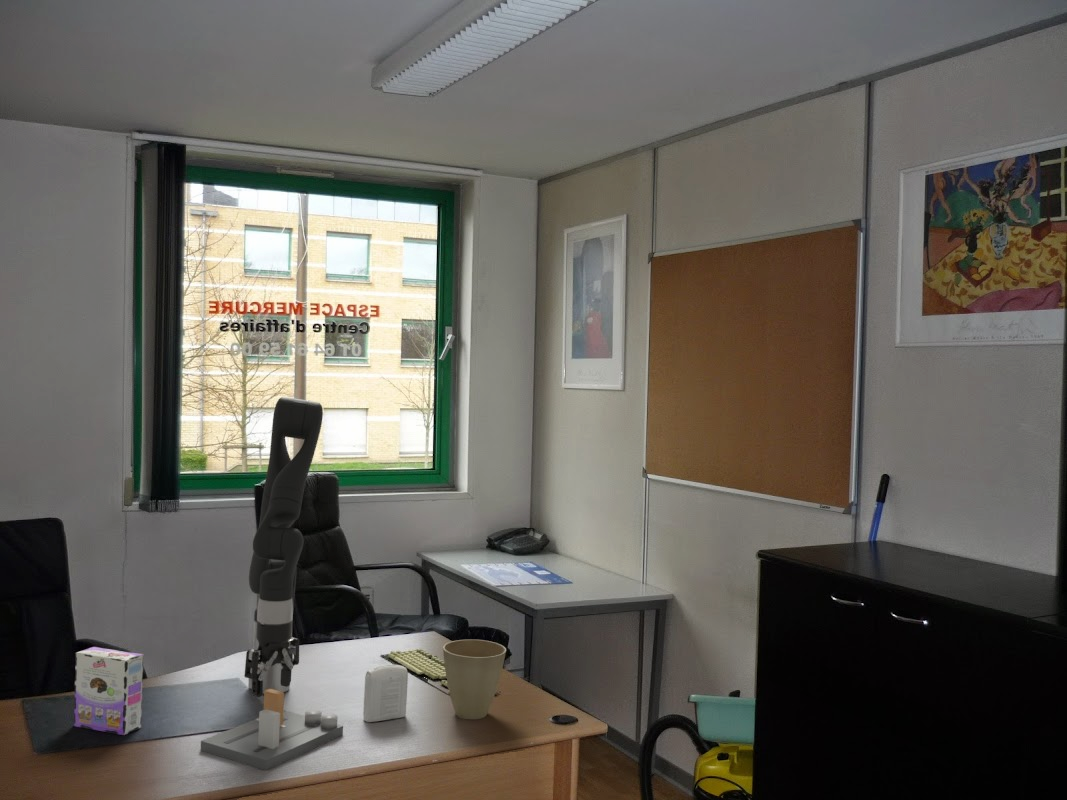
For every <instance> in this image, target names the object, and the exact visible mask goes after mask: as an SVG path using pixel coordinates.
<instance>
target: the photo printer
mask: <svg viewBox="0 0 1067 800" xmlns="http://www.w3.org/2000/svg"><path fill="white" fill-rule="evenodd" d="M408 680H409V672H407V669H406V668H405V667H404V666H401V665H395V664H384V665H378V666H376V667H373V668H370V669H369V670H367V671H366V673H365V676H364V695H363V696H364V697H363V712H362V713H363V714H362V715H363V721H365V722H367V723H372V722H373V723H374V722H380V721H388V720H392V719H393V720H394V719H400V718H405V717H406V716H407V701H408V699H407V698H408Z"/></svg>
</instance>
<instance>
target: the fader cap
mask: <svg viewBox="0 0 1067 800" xmlns="http://www.w3.org/2000/svg"><path fill="white" fill-rule="evenodd" d="M263 695H264V696H263V710H265V709H267V710H271V711H274V712H278V713H280V725H281V724H283V710H284V704H285V703H284V701H285V692H281V691H277V690H273V689H268V690H265V691H264V694H263Z"/></svg>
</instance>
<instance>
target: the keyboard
mask: <svg viewBox="0 0 1067 800" xmlns="http://www.w3.org/2000/svg"><path fill="white" fill-rule="evenodd" d="M380 656H381V657H382V658H383V659H384V660H387V661H388V662H390V663H392V665H401V666H404V667H405V668H406V669H407V672H408V674H410V675H412V676H414V677H417V678H418V679H420V680H421V681H422V682H425V683H426V684H428V685H430V686H431V687H433V688H435V689H437V690H438V691H441V692H442V693H444V694H446V695H447V696H449V697H450V693H449V690H448V691H447V692H448V693H447V692H446V691H443V690H442V689H440V688H438V687H437V686H435V685H434V684H432V683H430V682H428V679H429V680H430V681H432V682H436V681H441V682H440V684H441V686H443V687H444V688H446V689H448V684H447V680H446V679H447V678H446V672H445V664H444V659H441V658H438V656H437V655H433V654H432V653H429V652H428V651H426V650H424V649H422V648H416V649H408V650H405V651H401V650H396V651H394V650H392V651H390V652H389V653H387V654H380ZM424 677H425V678H424ZM426 678H427V679H426ZM501 691H502V690H501V689H499V692H500V693H498V688H497V689H496V692H495V694H497V695H499V696H501Z"/></svg>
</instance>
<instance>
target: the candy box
mask: <svg viewBox="0 0 1067 800" xmlns="http://www.w3.org/2000/svg"><path fill="white" fill-rule="evenodd" d="M74 658H75V661H74V663H75V665H74V666H75V667H74V668H75V671H74V674H75V675H74V711H73V719H74V720H73V726H74V727H76V728H83V729H88V730H94V731H99V732H105V733H110V734H115V735H120V736H121V735H122V736H125V735H128V734H130V733H131V732H134V731H137V730H139V729H140V728H142V714H143V713H142V712H143V711H142V710H143V709H142V708H143V707H142V706H143V682H144V681H143V678H144V653H136V652H130V651H129V652H128V651H121V650H117V649H111V648H110V649H109V648H105V647H98V646H92V647H89V648H86V649H83V650H80V651H77V652H75V657H74Z"/></svg>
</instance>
